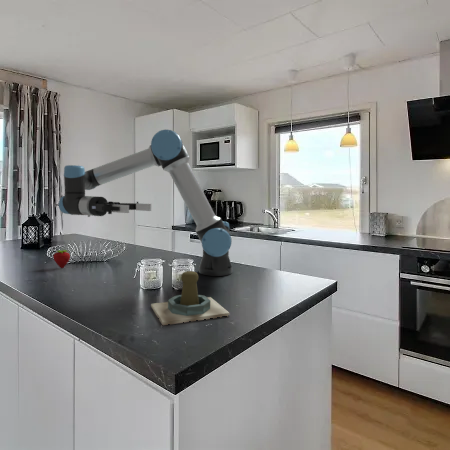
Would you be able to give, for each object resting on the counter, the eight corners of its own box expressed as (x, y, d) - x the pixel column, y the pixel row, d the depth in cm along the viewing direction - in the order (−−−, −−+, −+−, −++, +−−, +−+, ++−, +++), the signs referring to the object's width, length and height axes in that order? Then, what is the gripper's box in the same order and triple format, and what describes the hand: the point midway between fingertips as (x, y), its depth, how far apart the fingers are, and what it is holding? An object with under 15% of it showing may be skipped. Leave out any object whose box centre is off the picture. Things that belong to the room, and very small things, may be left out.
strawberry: (58, 266, 162) (58, 245, 161) (73, 267, 161) (72, 246, 160) (50, 269, 156) (49, 247, 155) (65, 270, 155) (64, 248, 154)
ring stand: (210, 299, 117) (210, 289, 116) (229, 316, 102) (229, 304, 102) (151, 306, 109) (151, 296, 109) (162, 325, 94) (162, 313, 94)
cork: (180, 303, 110) (180, 269, 109) (199, 303, 110) (200, 269, 109) (179, 309, 104) (179, 274, 103) (199, 309, 104) (199, 274, 103)
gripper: (115, 213, 146) (158, 216, 138) (69, 218, 123) (117, 221, 115) (115, 196, 145) (158, 197, 137) (68, 196, 122) (117, 198, 114)
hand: (140, 208), depth 126 cm, fingers open, 13 cm apart
